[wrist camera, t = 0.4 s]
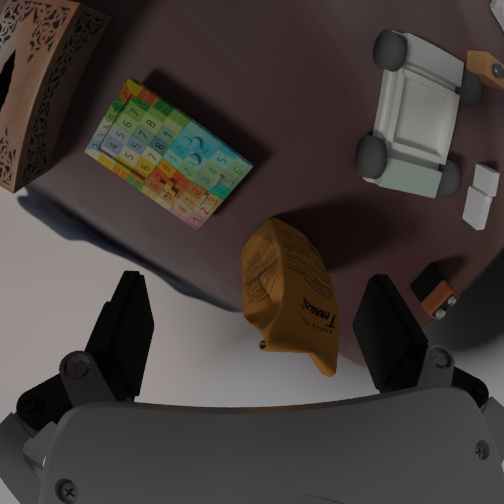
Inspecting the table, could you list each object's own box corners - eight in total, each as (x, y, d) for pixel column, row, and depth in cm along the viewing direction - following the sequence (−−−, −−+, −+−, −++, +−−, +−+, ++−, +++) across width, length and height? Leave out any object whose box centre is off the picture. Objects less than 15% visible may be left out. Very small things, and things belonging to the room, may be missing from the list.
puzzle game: (197, 233, 39) (81, 153, 31) (201, 218, 43) (95, 145, 35) (253, 169, 35) (126, 77, 27) (251, 160, 39) (138, 78, 31)
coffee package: (285, 288, 51) (309, 397, 32) (231, 250, 46) (232, 366, 27) (327, 252, 47) (375, 357, 29) (275, 206, 42) (307, 312, 24)
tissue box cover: (48, 2, 20) (11, -7, 12) (113, 17, 25) (80, 3, 17) (-4, 142, 31) (-40, 160, 23) (49, 170, 36) (13, 193, 28)
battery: (408, 285, 53) (430, 318, 44) (429, 261, 50) (455, 292, 41) (418, 292, 54) (439, 324, 46) (438, 270, 51) (462, 300, 43)
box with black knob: (465, 72, 30) (488, 75, 25) (467, 50, 27) (490, 51, 22) (485, 85, 30) (508, 90, 25) (487, 64, 28) (510, 68, 23)
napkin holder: (464, 230, 47) (479, 245, 42) (440, 200, 43) (458, 214, 38) (500, 179, 41) (518, 190, 36) (481, 143, 37) (501, 152, 32)
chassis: (376, 26, 27) (396, 20, 22) (460, 67, 29) (484, 70, 24) (350, 175, 40) (366, 190, 35) (433, 193, 42) (453, 208, 37)
